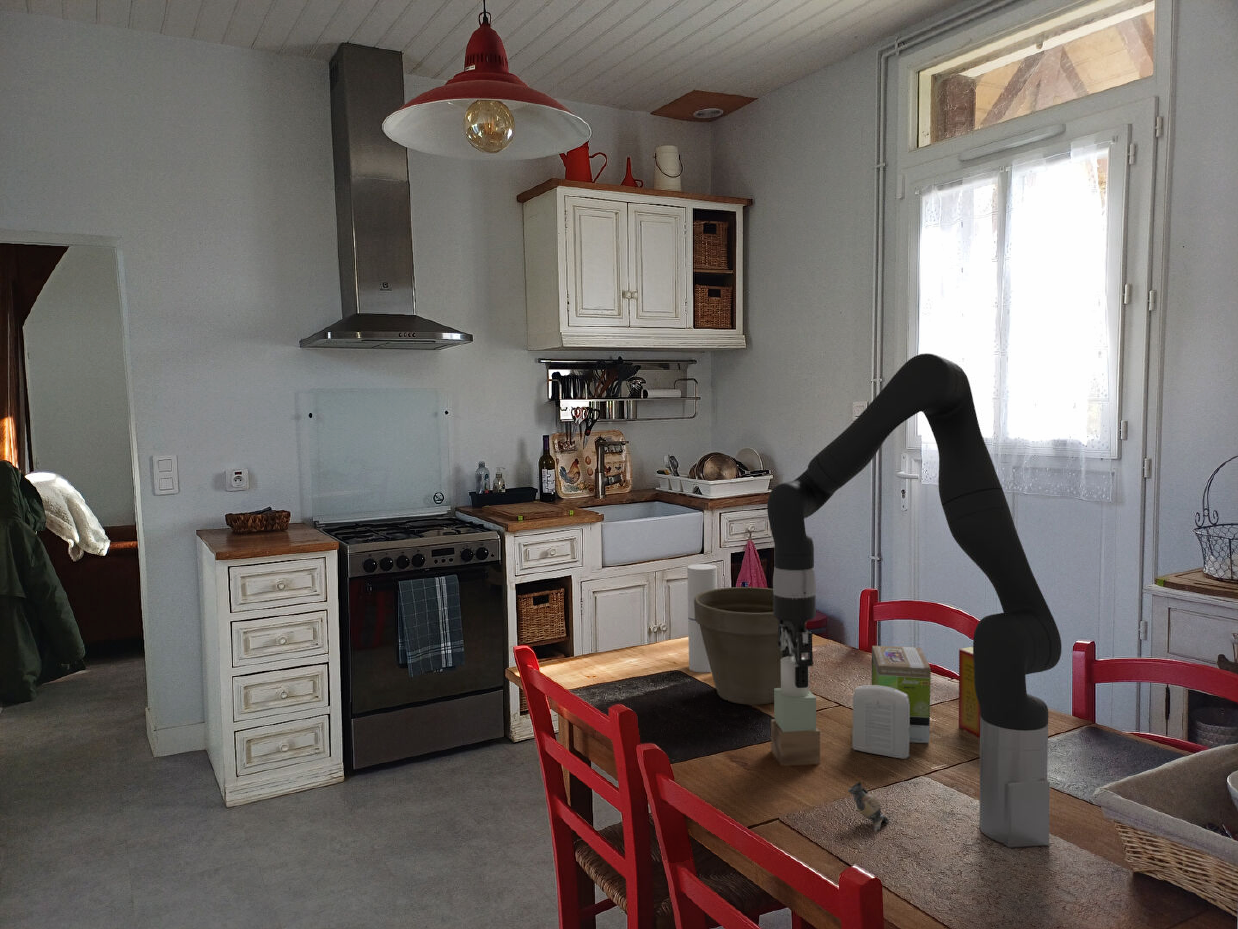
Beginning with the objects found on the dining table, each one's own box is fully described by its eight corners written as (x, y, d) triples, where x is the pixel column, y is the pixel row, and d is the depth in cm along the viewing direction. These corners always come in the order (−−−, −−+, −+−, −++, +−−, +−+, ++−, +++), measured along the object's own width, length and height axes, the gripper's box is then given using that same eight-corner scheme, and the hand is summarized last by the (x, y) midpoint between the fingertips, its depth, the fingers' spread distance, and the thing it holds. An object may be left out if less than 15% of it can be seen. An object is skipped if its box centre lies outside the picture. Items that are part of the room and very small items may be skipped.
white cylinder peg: (812, 696, 161) (812, 663, 160) (785, 698, 160) (784, 665, 160) (804, 687, 166) (804, 655, 165) (778, 689, 165) (777, 657, 165)
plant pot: (831, 704, 192) (831, 603, 190) (729, 721, 183) (728, 616, 181) (770, 672, 215) (769, 582, 213) (676, 686, 206) (675, 592, 204)
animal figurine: (841, 824, 138) (842, 785, 138) (857, 814, 142) (857, 776, 142) (874, 834, 134) (875, 794, 134) (889, 823, 138) (890, 784, 138)
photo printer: (911, 753, 165) (912, 687, 164) (906, 761, 161) (907, 694, 160) (855, 743, 170) (855, 679, 169) (849, 751, 166) (849, 685, 165)
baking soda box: (998, 721, 180) (999, 642, 178) (1022, 732, 173) (1023, 651, 172) (958, 727, 177) (959, 647, 176) (981, 738, 171) (981, 656, 170)
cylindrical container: (684, 665, 221) (682, 565, 220) (711, 662, 223) (709, 563, 222) (695, 673, 215) (694, 570, 213) (723, 670, 217) (721, 568, 215)
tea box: (931, 744, 168) (931, 667, 167) (876, 741, 170) (876, 665, 169) (921, 716, 183) (921, 645, 182) (870, 714, 185) (870, 643, 184)
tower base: (819, 764, 161) (819, 731, 160) (781, 766, 160) (781, 733, 160) (808, 749, 168) (808, 717, 167) (771, 751, 167) (771, 719, 167)
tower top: (816, 730, 161) (816, 697, 160) (783, 732, 160) (783, 699, 160) (806, 718, 167) (806, 687, 166) (774, 720, 166) (774, 688, 166)
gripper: (826, 599, 155) (827, 691, 156) (803, 583, 169) (803, 667, 170) (784, 601, 154) (785, 693, 155) (764, 584, 168) (764, 669, 170)
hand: (794, 680), depth 163 cm, fingers open, 8 cm apart
